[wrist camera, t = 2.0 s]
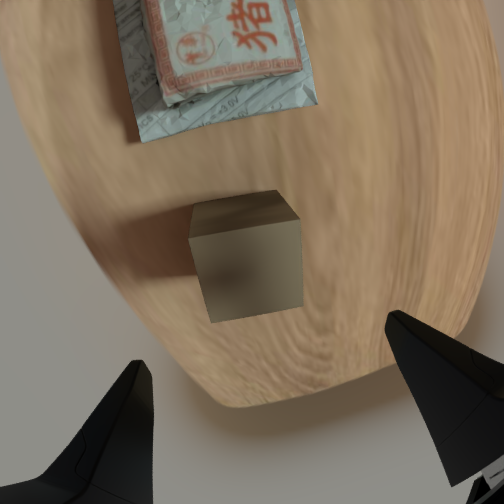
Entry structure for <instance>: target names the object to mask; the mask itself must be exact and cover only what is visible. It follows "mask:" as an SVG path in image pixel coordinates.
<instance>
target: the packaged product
mask: <svg viewBox="0 0 504 504" xmlns="http://www.w3.org/2000/svg"><path fill="white" fill-rule="evenodd" d="M113 5H114V12H115V19H116V25H117V29H118V37H119V42H120V47H121V52H122V59H123V65H124V70H125V75H126V79H127V83H128V88H129V93H130V98H131V101H132V105H133V111H134V114H135V116H136V121H137V125H138V128H139V134H140V138H141V141H142V143H146V142H150V141H153V140H157V139H161V138H165V137H169V136H172V135H175V134H178V133H181V132H185V131H188V130H191V129H194V128H198V127H201V126H204V125H208V124H213V123H219V122H224V121H230V120H236V119H241V118H246V117H251V116H256V115H262V114H268V113H274V112H279V111H284V110H289V109H294V108H299V107H305V106H311V105H317V104H318V101H317V97H316V92H315V87H314V82H313V72H312V68H311V63H310V59H309V55H308V52H307V49H306V45H305V41H304V37H303V32H302V28H301V24H300V20H299V16H298V12H297V9H296V5H295V1H294V0H113Z"/></svg>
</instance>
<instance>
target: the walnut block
mask: <svg viewBox="0 0 504 504" xmlns="http://www.w3.org/2000/svg"><path fill="white" fill-rule="evenodd" d="M188 241H189V245H190V249H191V253H192V256H193V260H194V264H195V268H196V272H197V275H198V279H199V283H200V286H201V290H202V294H203V297H204V301H205V304H206V308H207V311H208V314H209V318H210V321H211V323H216V322H222V321H228V320H234V319H239V318H245V317H251V316H256V315H261V314H267V313H272V312H277V311H282V310H287V309H292V308H296V307H301V306H303V268H302V244H301V224H300V218H299V217H298V216H297V215H296V213H295V212H294V211H293V210H292V208H291V207H290V206H289V205H288V203H287V202H286V201H285V200H284V198H283V197H282V196H281V195H280V193H279V192H278V191H277V190H272V191H265V192H259V193H252V194H246V195H240V196H234V197H228V198H222V199H216V200H211V201H205V202H200V203H195V204H194V207H193V212H192V218H191V224H190V230H189V236H188Z"/></svg>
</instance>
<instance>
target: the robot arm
mask: <svg viewBox="0 0 504 504" xmlns="http://www.w3.org/2000/svg"><path fill="white" fill-rule="evenodd" d="M385 334H386V337H387V339H388V342H389V344H390V347H391V349H392V352H393V354H394V357H395V360H396V362H397V365H398V367H399V369H400V371H401V373H402V374H403V377H404V379H405V381H406V383H407V385H408V387H409V389H410V391H411V393H412V395H413V397H414V399H415V401H416V404H417V406H418V408H419V410H420V412H421V414H422V416H423V419H424V421H425V423H426V425H427V428H428V430H429V432H430V435H431V437H432V439H433V442H434V444H435V447H436V449H437V452H438V454H439V457H440V459H441V462H442V464H443V467H444V469H445V472H446V475H447V477H448V480H449V483H450V485H451V487H453V486H455V485H457V484H459V483H461V482H462V481H464V480H466V479H468V478H469V477H471V476H473V475H474V474H476V473H477V472H479V471H481V472H482V475H481V476H480V477H479V478H477V479H476V480H475V481H474V483H473V486H472V489H471V492H470V494H469V497H468V500H467V502H466V504H504V364H502V363H500V362H497V361H495V360H493V359H491V358H489V357H487V356H485V355H483V354H481V353H479V352H477V351H475V350H473V349H471V348H469V347H468V346H466V345H464V344H462V343H460V342H459V341H457V340H455V339H453V338H451V337H449V336H447V335H446V334H444V333H442V332H440V331H438V330H436V329H434V328H433V327H431V326H429V325H427V324H425V323H423V322H421V321H419V320H418V319H416V318H414V317H412V316H410V315H408V314H406V313H404V312H402V311H401V310H394V311H391V312H389V313H388V316H387V320H386V324H385ZM153 426H154V405H153V385H152V376H151V373H150V371H149V369H148V368H147V366H146V364H145V363H144V361H143V360H133V361H131V362H130V363H129V364H128V366H127V367H126V368H125V370H124V371H123V372H122V373H121V375H120V376H119V377H118V379H117V380H116V381H115V383H114V384H113V385H112V387H111V388H110V390H109V391H108V392H107V393H106V395H105V396H104V397H103V399H102V400H101V402H100V403H99V404H98V405H97V407H96V408H95V409H94V411H93V412H92V413H91V415H90V416H89V418H88V419H87V420H86V422H85V423H84V424H83V426H82V429H80V430H79V431H78V433H77V434H76V435H75V437H74V438H73V439H72V441H71V442H70V443H69V445H68V446H67V447H66V448H65V449H64V450H63V452H62V453H61V454H60V455H59V456H58V457H57V459H56V460H55V461H54V462H53V463H52V464H51V465H50V466H49V467H48V469H47V470H46V471H45V472H44V473H43V474H41V475H40V476H39V477H37V478H35V479H32V480H28V481H24V482H20V483H16V484H12V485H7V486H3V487H0V504H153V482H152V481H153V479H152V477H153V476H152V467H153V466H152V464H153V463H152V462H153Z"/></svg>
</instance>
